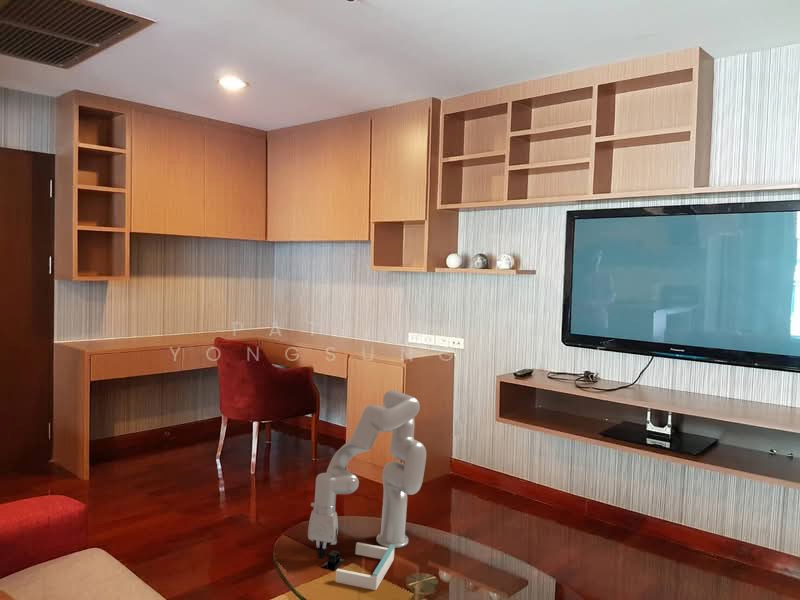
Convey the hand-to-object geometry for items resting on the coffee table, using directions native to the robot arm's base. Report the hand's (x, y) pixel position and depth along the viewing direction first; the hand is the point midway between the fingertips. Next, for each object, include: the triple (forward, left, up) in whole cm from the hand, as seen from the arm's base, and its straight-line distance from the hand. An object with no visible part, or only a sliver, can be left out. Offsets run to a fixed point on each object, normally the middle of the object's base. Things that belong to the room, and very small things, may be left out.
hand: (321, 557), depth 225 cm
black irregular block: (0, +5, -2) cm, 5 cm away
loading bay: (0, +18, -2) cm, 18 cm away
